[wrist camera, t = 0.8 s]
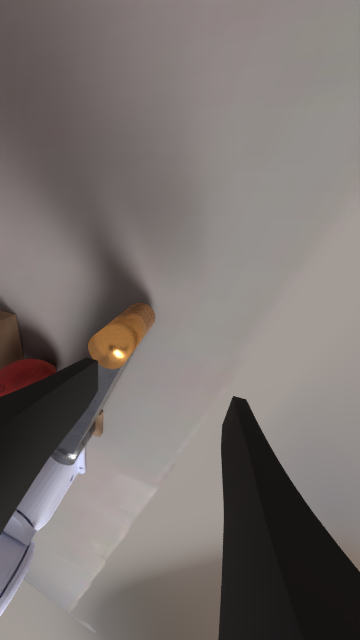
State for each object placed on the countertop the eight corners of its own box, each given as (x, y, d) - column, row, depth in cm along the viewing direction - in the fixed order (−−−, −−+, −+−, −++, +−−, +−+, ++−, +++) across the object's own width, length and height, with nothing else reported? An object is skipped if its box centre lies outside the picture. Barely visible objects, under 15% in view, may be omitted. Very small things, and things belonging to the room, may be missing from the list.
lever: (91, 437, 27) (57, 490, 21) (69, 425, 26) (29, 475, 21) (163, 313, 18) (137, 350, 12) (131, 294, 18) (91, 322, 12)
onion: (25, 367, 25) (-53, 421, 18) (37, 336, 23) (-47, 383, 16) (65, 393, 26) (5, 455, 19) (81, 365, 23) (19, 424, 16)
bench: (102, 431, 28) (73, 480, 22) (14, 405, 29) (-33, 445, 23) (104, 336, 21) (64, 372, 16) (-9, 308, 23) (-81, 332, 17)
